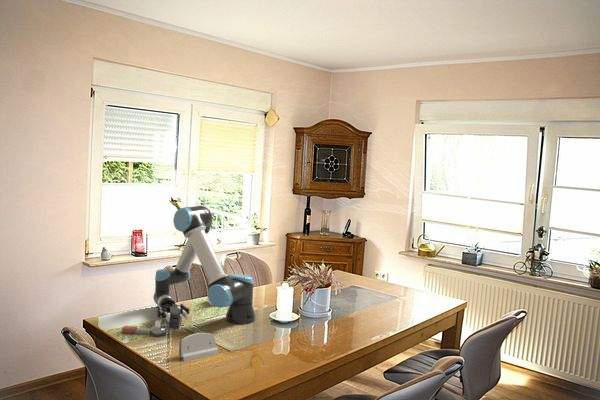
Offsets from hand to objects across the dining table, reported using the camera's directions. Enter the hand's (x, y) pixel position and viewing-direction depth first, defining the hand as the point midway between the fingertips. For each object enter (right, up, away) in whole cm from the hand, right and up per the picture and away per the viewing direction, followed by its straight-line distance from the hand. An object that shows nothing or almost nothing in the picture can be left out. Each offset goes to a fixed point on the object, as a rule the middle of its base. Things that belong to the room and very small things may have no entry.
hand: (177, 317), depth 251 cm
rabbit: (+11, -2, +45) cm, 46 cm away
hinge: (+15, -10, -27) cm, 32 cm away
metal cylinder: (-2, -5, +5) cm, 8 cm away
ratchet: (-14, -6, -6) cm, 16 cm away
